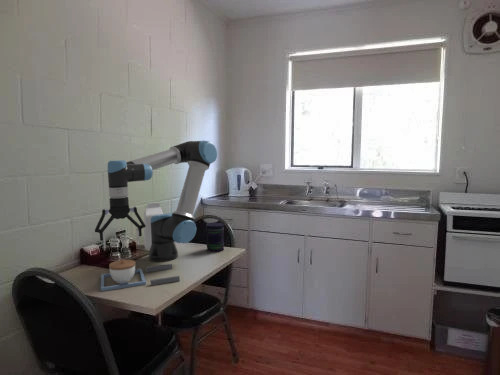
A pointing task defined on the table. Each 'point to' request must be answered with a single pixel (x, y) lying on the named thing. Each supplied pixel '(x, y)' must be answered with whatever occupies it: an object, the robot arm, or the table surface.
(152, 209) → the milk
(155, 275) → the table surface
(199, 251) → the table surface
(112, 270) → the lidded jar
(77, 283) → the table surface
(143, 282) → the frame
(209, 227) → the storage jar
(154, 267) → the charcoal rails
